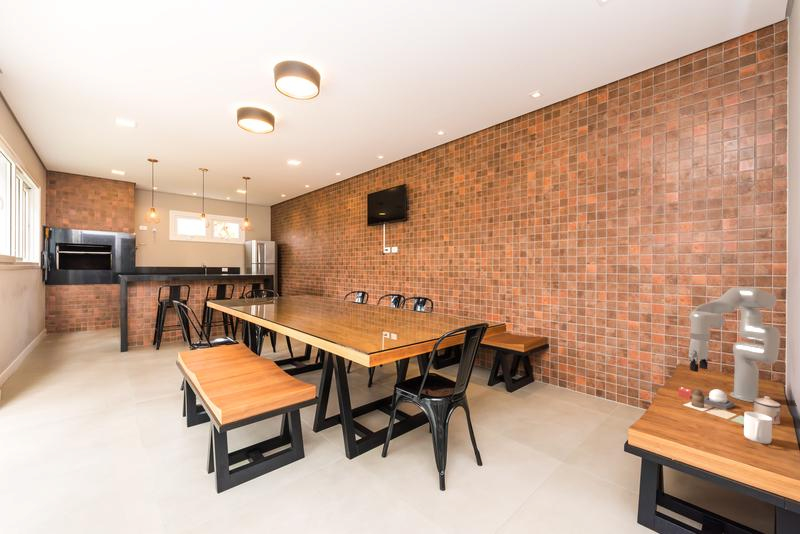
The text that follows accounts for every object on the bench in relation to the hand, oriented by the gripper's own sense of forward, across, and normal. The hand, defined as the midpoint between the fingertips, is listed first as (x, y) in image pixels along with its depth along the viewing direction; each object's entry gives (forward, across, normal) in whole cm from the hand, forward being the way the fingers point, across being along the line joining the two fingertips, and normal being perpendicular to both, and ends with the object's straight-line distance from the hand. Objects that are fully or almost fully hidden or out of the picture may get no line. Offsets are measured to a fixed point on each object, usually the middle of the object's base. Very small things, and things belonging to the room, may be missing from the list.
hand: (698, 369), depth 179 cm
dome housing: (+20, -13, +4) cm, 24 cm away
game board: (+20, 0, +10) cm, 22 cm away
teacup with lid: (+20, -15, +22) cm, 33 cm away
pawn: (+19, 0, 0) cm, 19 cm away
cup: (+20, +17, +28) cm, 38 cm away
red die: (+20, -9, -10) cm, 24 cm away
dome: (+18, -13, +3) cm, 23 cm away
